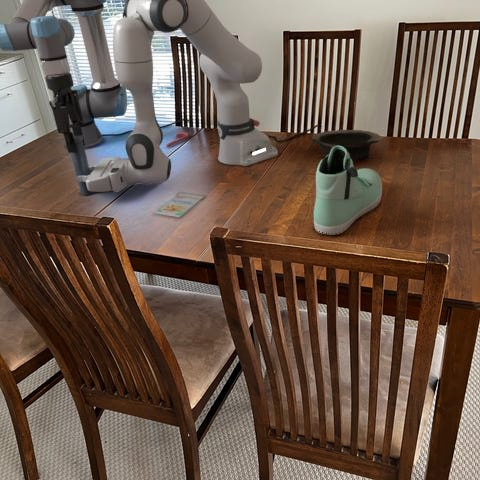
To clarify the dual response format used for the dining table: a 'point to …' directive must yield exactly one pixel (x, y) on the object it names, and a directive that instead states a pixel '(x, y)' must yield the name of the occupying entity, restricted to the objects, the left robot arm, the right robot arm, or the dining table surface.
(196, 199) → the baking ingredient package
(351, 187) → the sneaker
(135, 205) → the dining table surface
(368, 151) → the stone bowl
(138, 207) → the dining table surface
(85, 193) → the dark grey cylinder
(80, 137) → the lid
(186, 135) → the candy cane
